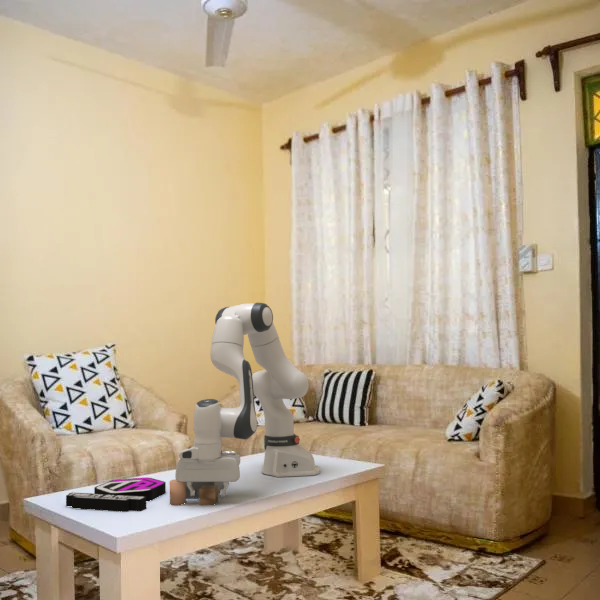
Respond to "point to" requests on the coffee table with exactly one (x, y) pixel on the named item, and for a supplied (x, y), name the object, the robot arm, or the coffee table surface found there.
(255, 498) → the coffee table surface
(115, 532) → the coffee table surface
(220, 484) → the box
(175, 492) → the terracotta canister
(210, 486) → the walnut cube
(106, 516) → the coffee table surface
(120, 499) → the sign
